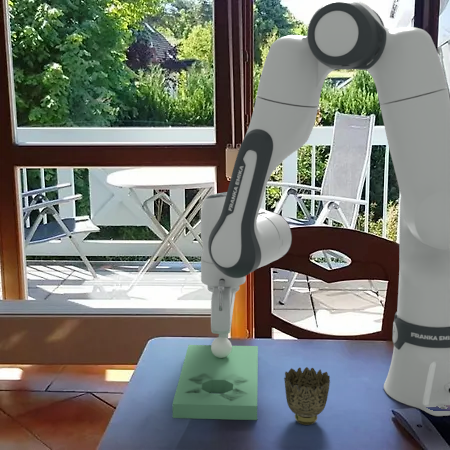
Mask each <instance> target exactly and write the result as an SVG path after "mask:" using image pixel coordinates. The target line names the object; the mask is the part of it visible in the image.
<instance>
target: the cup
mask: <svg viewBox="0 0 450 450" xmlns="http://www.w3.org/2000/svg"><path fill="white" fill-rule="evenodd" d="M330 378H331V377H330V375H329V373H328V371H325V372H322V369H320V368H319V370H318V371H316V370H315V368H314V367H311V368H310V369H309V367H308V366H306V367H305V368H304V369H303V371H302V367H298V368H297V370H296V369H294V368H292V367H291V368H290V369H289V370H288V371H285V372H284V378H283V380H284V389H285V396H286V403H287V406H288V408H289V409H290V411H291V412H292V413H294V418H295V421H296V423H298V424H300V425H303V426H310V425H314V424H315V423H316V422H317V420H318V415H320V414H322V413H323V411H324V410H325V407H326V406H327V402H328V396H329V389H330V383H331V380H330Z"/></svg>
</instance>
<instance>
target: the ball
mask: <svg viewBox="0 0 450 450" xmlns="http://www.w3.org/2000/svg"><path fill="white" fill-rule="evenodd" d="M210 345H211V350H212V353H213V354H214V355H215V356H216V357H218V358H225V357H227V356H228V355H229V354H230V353H231V350H232V346H233V345H232V342H231V340H230V339H229V338H228V339H227V338H225V337H219V336H217V337H216V338H214V340H213V341H212V342H211V344H210Z"/></svg>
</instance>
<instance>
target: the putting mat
mask: <svg viewBox="0 0 450 450" xmlns="http://www.w3.org/2000/svg"><path fill="white" fill-rule="evenodd" d="M211 345H212V344H188V346H187V349H186V354H185V356H184V359H183V360H184V361H183V365H182V367H181V372H180V375H179V379H178V382H177V386H176V390H175V394H174V397H173V400H172V405H171V407H172V419H195V420H196V419H198V420H199V419H201V420H202V419H204V420H234V421H235V420H239V421H240V420H241V421H243V420H245V421H247V420H248V421H258V387H259V386H258V373H259V372H258V371H259V368H258V365H259V364H258V363H259V361H258V360H259V358H258V357H259V356H258V355H259V346H258V345H232V350H231V353H230V354H229V355H228V356H227V357H225V358H218V357H216V356H215V355H214V354H213V353H212V350H211Z"/></svg>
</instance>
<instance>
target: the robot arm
mask: <svg viewBox="0 0 450 450" xmlns="http://www.w3.org/2000/svg"><path fill="white" fill-rule="evenodd" d="M306 32H307V33H306V35H298V34H294V35H293V34H290V35H286V36H281V37H279V38H278V39H275V40H274V41H273V43H272V44H271V45H270V47H269V50H268V53H267V55H266V57H265V61H264V64H263V67H262V71H261V74H260V77H259V82H258V86H257V92H256V96H255V97H256V98H255V103H254V106H253V112H252V114H251V117H250V122H249V125H248V128H247V131H246V133H245V136H244V138H243V140H242V142H241V145H240V146H239V149H238V152H237V155H236V159H235V162H234V166H233V170H232V173H231V176H230V181H229V184H228V188H227V191H224V192H220V193H213V194H211V195H208V196H207V197H206V198H205V199H204V200H203V204H202V208H201V215H200V239H201V242H202V252H201V255H200V281H201V283H202V284H204V285H206V286H207V291H208V292H211V299H210V330H211V333H212V334H213V335H215V334H216V335H218V337H225V338H227V339H228V340H229V334H230V333H231V329H232V322H233V313H234V312H233V311H234V306H235V300H236V293H237V292H238V291H239V290H240V286H241V285H244V284H245V283H246V280H247V278H246V277H247V276H248V275H250V274H252V273H253V272H254V271H256V270H257V269H259V268H261V267H264V266H267V265H269V264H270V263H273V262H275V261H277V260H279V259H281V258H282V257H284V256H286V254H288V252H289V251H290V249H291V246H292V242H293V234H292V230H291V229H292V228H291V226H290V224H289V223H288V221H287V220H286V219H285V218H284V216H282V215H281V214H279V213H277V212H273V211H269V210H266V209H264V208H263V207H261V206H262V203H263V199H264V196H265V192H266V187H267V184H268V181H269V179H270V177H271V176H272V173H274V171H275V170H276V169H277V167H278V166H279V165H281V163H282V162H283V161H284V160H286V159H287V158H288V157H290V156H291V155H292V154H293V153H295V152H297V151H298V150H299V149H300V148H301V149H302V147H303V146H304V145H305V144H306V143H307V142H308V140H309V138H310V135H311V134H312V131H313V129H314V126H315V123H316V119H317V113H318V109H319V103H320V99H321V93H322V91H323V90H322V89H323V85H324V83H325V80H326V79H327V76H328V75H329V74H330V73H332V72H333V71H341V70H345V71H346V70H357V71H358V70H360V71H367V72H368V73H369V74H370V75H371V77H372V80H373V81H374V85H375V88H376V93H377V99H378V101H379V102H378V103H379V107H380V113H381V117H382V121H383V125H384V130H385V135H386V139H387V144H388V145H387V146H388V149H389V154H390V158H391V160H392V161H391V162H392V165H393V169H394V172H395V177H396V181H397V185H398V189H399V193H400V198H399V199H400V200H399V202H400V203H399V236H398V238H399V240H398V241H399V242H398V243H399V244H398V245H399V253H398V255H399V261H398V262H399V272H398V274H399V275H398V290H397V293H398V294H397V308H396V309H397V311H396V312H395V314H394V319H393V323H392V343H393V351H392V352H393V353H392V356H391V361H390V366H389V370H388V373H387V376H386V379H385V381H384V384H383V389H384V392H385V393H386V394H387V395H388V396H389V397H391V399H393V400H395V401H397V402H399V403H402V404H404V405H407V406H409V407H413V408H417V409H420V410H422V411H423V412H425V413H427V414H429V415H432V416H434V417H443V416H445V417H446V416H447V417H448V416H450V411H433V410H430V409H428V408H426V407H436V406H438V407H439V408H441V409H447V408H448V407H446V405H450V93H449V88H448V84H447V80H446V75H445V72H444V68H443V65H442V61H441V59H440V56H439V52H438V50H437V48H436V45H435V44H434V43H435V42H434V41H433V39H432V36H431V35H430V34H429V33H428V32H427V31H426V30H425V29H422V28H418V27H415V26H406V27H404V26H403V27H399V28H395V29H390V28H386V27H385V25H384V22H383V19H382V18H381V17H380V15H379V14H378V12H377V11H375V10H374V9H372V7H370V6H368V5H367V4H365V3H363V2H362V1H358V0H330V1H328V2H326V3H325V4H323V5H322V6H320V7H319V8H318V9H317V10H316V12H315V13H314V14H313V15H312V17H311V18H310V21H309V23H308V27H307V31H306ZM444 405H445V406H444Z"/></svg>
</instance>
